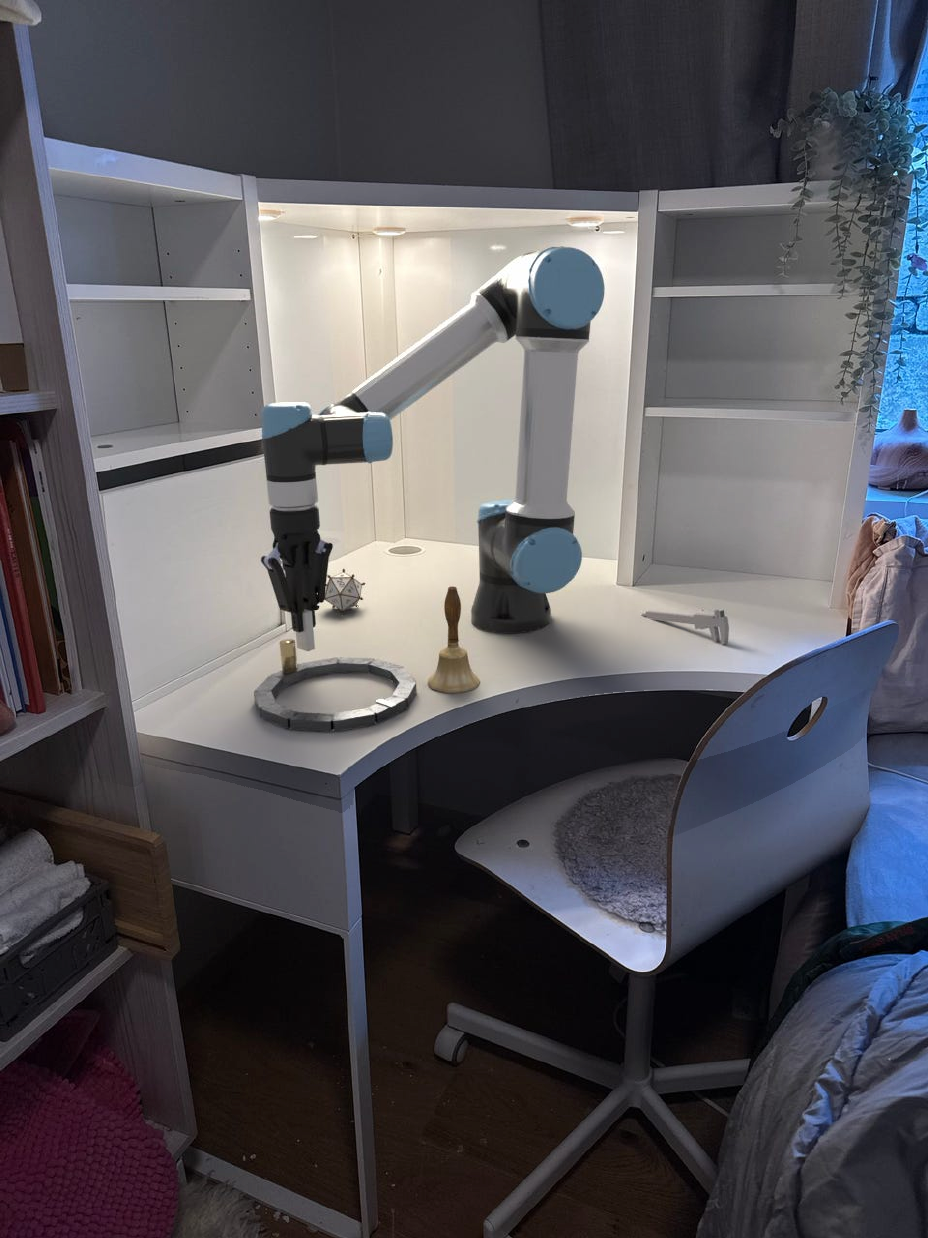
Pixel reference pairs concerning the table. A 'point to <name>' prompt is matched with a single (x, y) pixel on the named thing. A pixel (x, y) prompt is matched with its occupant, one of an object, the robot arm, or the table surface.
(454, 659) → the hand bell
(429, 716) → the table surface
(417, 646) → the table surface
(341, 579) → the game die
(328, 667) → the ring
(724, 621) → the caliper
